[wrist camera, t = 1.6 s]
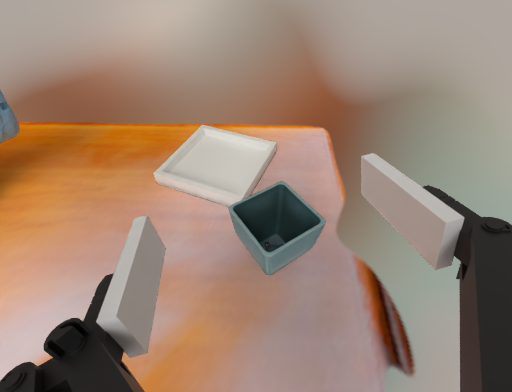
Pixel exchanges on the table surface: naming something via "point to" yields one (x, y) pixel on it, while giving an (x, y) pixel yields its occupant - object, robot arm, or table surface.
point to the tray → (217, 165)
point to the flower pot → (276, 226)
